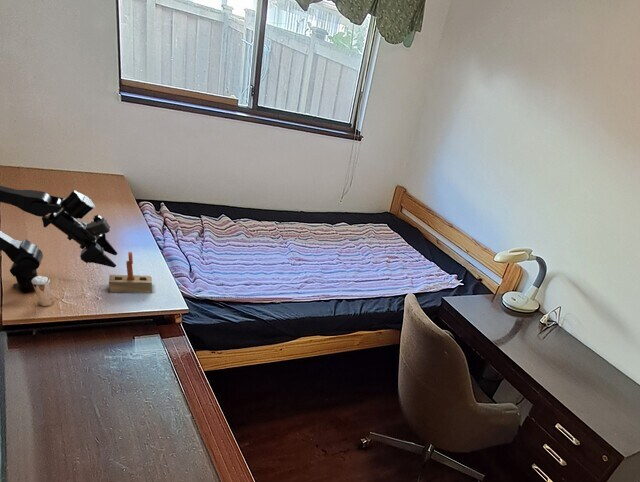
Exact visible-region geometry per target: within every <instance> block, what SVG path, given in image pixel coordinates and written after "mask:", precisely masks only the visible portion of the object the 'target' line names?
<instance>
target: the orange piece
mask: <svg viewBox="0 0 640 482" xmlns="http://www.w3.org/2000/svg"><path fill="white" fill-rule="evenodd" d="M127 255H128V260H126V262H125V264H126V272H127V274H126V275H128V280H134V279H133V275H134V269H133V263H134V257H133V256H134V255H133V251H128V254H127Z"/></svg>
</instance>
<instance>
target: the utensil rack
mask: <svg viewBox="0 0 640 482" xmlns="http://www.w3.org/2000/svg"><path fill="white" fill-rule="evenodd" d="M133 279H134V280H128V274H109V278H108V288H109V293H135V294H136V293H137V294H138V293H139V294H140V293H141V294H142V293H145V294H146V293H147V294H148V293H150V294H151V293H153V279H152V275H140V274H136V275H135V274H133Z"/></svg>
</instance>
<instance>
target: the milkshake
mask: <svg viewBox="0 0 640 482" xmlns="http://www.w3.org/2000/svg"><path fill="white" fill-rule="evenodd" d="M31 282H32V284H33V287H34V289H35V291H34V292H35V294H36V298H37V300H38V303H39V305H40V306H43V307H48V306H51V305H52V304H53V297H52V288H51V279H50V277H47V276H44V275H38V276H37V277H34V278H33V279H32V281H31Z"/></svg>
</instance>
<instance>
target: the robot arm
mask: <svg viewBox="0 0 640 482" xmlns="http://www.w3.org/2000/svg"><path fill="white" fill-rule="evenodd" d="M0 203H3V204H7V205H10V206H14V207H16V208H18V209H19V210H21V211H22V212H25V213H28V214H31V215H32V216H35V217H39V218H40V217H41V220H42V225H43V228H47V227H48V226H50V224H51V225H52V226H53V227H55V228H56V229H58V230H59V231H60V232H61V233H62V234H65V235H66V236H67V237H66V238H67V239H68V240H69V241H71V240H72V241H74V242H76V243H77V244H78V245H79V248H80V250H81V251H80V260H81V261H82V262H84V263H85V264H97V265H100V266H101V265H102V266H106V267H109V268H113V269H114V268H117V264H116V263H115V262H114V261H113V260H112V259H110V257H108V255H107V254H110V255H113V256H118V251H117V250H116V249H115V248H114V247H113V246H112V244H111V243H110V242H109V240H108V238H107V234H108V233H110V231H111V230H110V229H111V225H110V224H109V223H108V219H106V218H105V217H103V216H101V215H100V214H96V215H93V217H92V218H93V219H92V221H90V222H89V223H87V222H86V221H83V220H81V219H83V218H85V217H86V215H87V214H89V213H90V212H91V211H92V210H93V209H95V208H96V205H95V203H94V202H93V200H92V199H91V198H89V197H88V196H87V195H85V194H83V193H82V192H78V191H77V190H76V189H73V190H71V191H70V193H69V194H68V195H67V196H66V197H65V198H64V197H60V196H54V195H50V194H49V193H47V192H45V191H41V190H33V189H15V188H12V187H7V186H3V185H0ZM78 219H79V220H81V221H79V220H78ZM0 251H2V252H3V253H5V255H6V256H7V258H9V260H10V261H11V262H12V265H11V267H10V269H9V272H10V273H11V275H12V276H13V277H15V281H16V283H13V284H12V286H13V287H14V288H15V289H16V290H18V291H19V292H20V293H22V294H24V295H25V294H29V293H33V292H35V289H34V287H33V284H32V282H31V281H32V279H33V278H34V277H37V276H39V274H38V270H37V269H39V267H40V265H41V263H42V260H43V258H44V255H43V251H42V250H41V249H40V248H39V245H36V244H34V243H32V242H31V241H30V240H29V239H27V238H23V240H17V239H15V238H12V237H11V236H10V235H8V234H6V233H4V232H3V231H2V230H0ZM105 252H106V253H107V254H105Z"/></svg>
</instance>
